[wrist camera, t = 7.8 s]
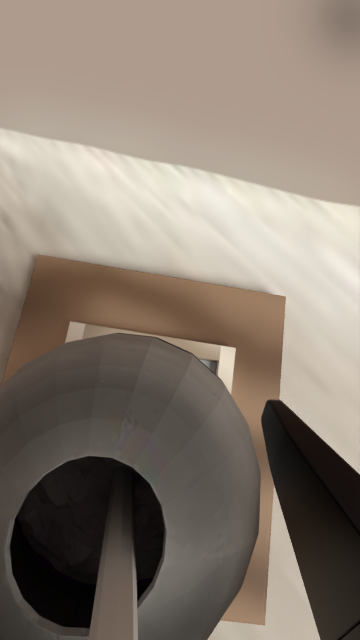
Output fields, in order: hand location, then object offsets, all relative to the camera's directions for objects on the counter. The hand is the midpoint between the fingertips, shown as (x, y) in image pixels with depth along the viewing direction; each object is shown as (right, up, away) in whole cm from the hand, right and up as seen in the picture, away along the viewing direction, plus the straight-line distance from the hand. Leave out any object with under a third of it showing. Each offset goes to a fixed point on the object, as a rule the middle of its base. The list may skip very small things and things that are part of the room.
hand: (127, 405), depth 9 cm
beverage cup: (-1, -4, +10) cm, 11 cm away
